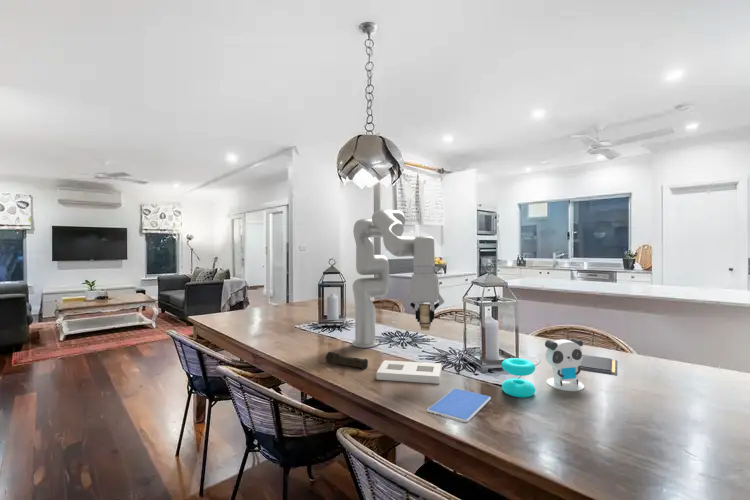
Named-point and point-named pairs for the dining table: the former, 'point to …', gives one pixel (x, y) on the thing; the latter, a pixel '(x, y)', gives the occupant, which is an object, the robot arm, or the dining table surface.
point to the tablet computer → (459, 405)
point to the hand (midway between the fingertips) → (425, 320)
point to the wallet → (598, 365)
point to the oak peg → (424, 316)
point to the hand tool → (346, 360)
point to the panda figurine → (565, 364)
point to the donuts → (518, 385)
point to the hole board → (409, 371)
